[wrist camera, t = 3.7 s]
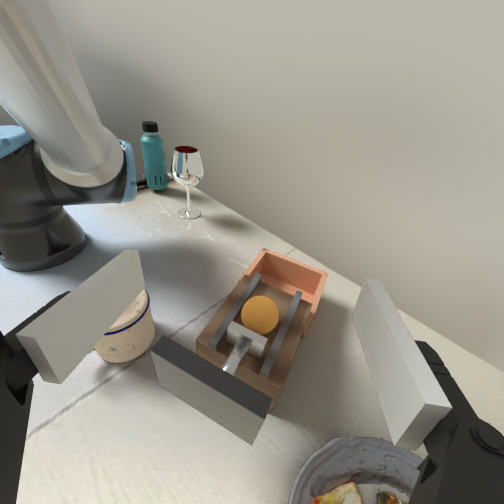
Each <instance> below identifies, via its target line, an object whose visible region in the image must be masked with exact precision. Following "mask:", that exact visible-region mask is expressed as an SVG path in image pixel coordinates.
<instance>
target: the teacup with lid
mask: <svg viewBox="0 0 504 504" xmlns="http://www.w3.org/2000/svg"><path fill="white" fill-rule="evenodd" d="M149 302H150V299H149V295H148V293H147V291H146V290H145V289H143V291H142V292H141V293H140V294H139V295H138V296H137V297H136V299H135V300H134V301H133V302H132V303H131V304H130V306H129V307H128V308H127V309H126V310H125V311H124V312H123V314H122V315H121V316H120V317H119V318H118V319H117V320H116V322H115V323H114V324H113V325H112V326H111V327H110V328H109V330H108V331H107V332H106V333H105V334H104V335H103V337H102V338H101V339H100V340H99V341H98V342H97V343H96V345H95V346H94V347H93V348H92V349H91V350H90V351H89V353H91V352H93V351H94V350H96V352H97V353H98V355H99V356H100V357H101V358H102V359H103V360H105V361H107V362H111V363H123V362H127V361H130V360H133V359H135V358H137V357H138V356H140V355H141V354H143V353H144V352H145V351H146V350H147V349H148V348H149V346H150V345H151V343H152V341H153V339H154V335H155V327H154V323H153V319H152V315H151V310H150V306H149ZM89 353H88V354H89Z"/></svg>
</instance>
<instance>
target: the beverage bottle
mask: <svg viewBox="0 0 504 504" xmlns="http://www.w3.org/2000/svg"><path fill="white" fill-rule="evenodd" d="M142 127H143V128H142V129H143V131H145V132H158V126H157V123H156V122H152V121H145V122H143V123H142ZM140 141H141V145H142V152H143V158H144V164H145V171H146V178H147V184H148V186H149V188H151V189H155V190H161V189H165V188H167V186H168V180H167V177H168V176H167V171H166V161H165V152H164V144H163V139H162V138H161V137H160V136H159V135H157V134H145V135H143V136H142V138H141V139H140Z"/></svg>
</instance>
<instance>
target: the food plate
mask: <svg viewBox="0 0 504 504" xmlns="http://www.w3.org/2000/svg"><path fill="white" fill-rule="evenodd" d="M422 461H423V460H422V459H421V458H419V457H418V456H417V455H415V454H414V453H412V452H411V451H410V450H409V449H405V448H401V447H396V446H394V445H393V443H392V442H389V441H386V440H384V439H383V438H380V439H377V438H372V437H342V438H341V437H339V438H338V437H337V438H334V439H332V440H331V441H329V442H328V443H327V444H325V446H323V447H322V448H320V449H318V451H315V453H314V454H313V455H312V457H310V458H309V459H308V460H307V462H306V463H305V465H304V466H303V467H302V468H301V470H300V471H299V474H298V476H297V477H296V480H295V482H294V483H293V484H294V485H293V486H292V490H291V492H290V496H289V500H288V504H362V501H361V498H360V495H359V494H358V491H357V489H356V484H360V483H361V484H370V483H371V484H388V485H389V486H391V487H394V488H397V489H398V490H399V491H400V492H401V493H406V494H407V496H408V498H411V495H412V492H413V490H414V487H415V484H416V482H417V479H418V476H419V474H420V471H419V470H418V469H416V468H417V467H418V466H419V465H420V464H421V462H422ZM376 499H377V502H376V503H377V504H408V503H407V502H402V501H400V500H397V499H396V497H395V495H394V493H391V492H387V491H386V492H385V491H382V492H381V491H380V489H377V493H376Z"/></svg>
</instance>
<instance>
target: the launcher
mask: <svg viewBox="0 0 504 504" xmlns="http://www.w3.org/2000/svg"><path fill="white" fill-rule="evenodd" d="M261 279H262V275H261V274H259V273H256V275H255V276H254V277H250V276H248V275H246V274H245V275H244V276H243V278H242V279H241V280H240V282H239V283H238V284H237V286H236V287H235V288H234V290H233V291H232V292H231V294H230V295H229V296H228V298H227V299H226V300H225V302H224V303H223V304H222V306H221V307H220V308H219V310H218V311H217V312H216V314H215V315H214V316H213V318H212V319H211V320H210V322H209V323H208V324H207V326H206V327H205V328H204V330H203V331H202V332H201V334H200V335H199V336H198V338H197V339H196V354H197V355H198V356H200V357H202V358H204V359H205V360H207V361H209V362H211V363H212V364H214V365H216V366H217V367H219V368H222V366H223V365H224V363H225V361H226V359H227V358H228V356H229V354H230V353H231V351H232V349H233V348H234V345H233V344H231V343H229V342H227V341H226V339H227V330H228V326H229V324H230V323H231V321H234V322H236V323H238V324H240V325H242V326H243V327H245V326H244V324H243V322H242V318H241V312H242V308H243V306H244V304H245V303H246V302H247V300H249V299H250V298H252V297H255V296H265V297H268V298H270V299H271V300H272V301H273V302H274V303H275V304H276V306H277V308H278V312H279V319H278V323H277V325H276V326H275V328H274V329H273V330H272V331H270V332H269V333H266V334H262V335H261V336H263V337H265V338H267V339H268V340H267V343H266V347H265V350H264V353H263V355H262V357H261V359H259V358H257V357H255V356H253V355H251V354H249V353H248V352H247V353H246V355H245V357H244V359H243V361H242V362H241V364H240V366H239V368H238V370H237V372H236V374H235V377H237V378H238V379H240V380H242V381H244V382H245V383H247V384H249V385H251V386H252V387H254V388H256V389H257V390H259V391H261V392H263V393H264V394H266V395H268V396H270V397H271V398H273V399H272V402H271V404H270V407H269V410H268V412H267V413H268V414H269V413H270V411H271V410H272V408H273V406H274V404H275V402H276V400H277V398H278V396H279V394H280V392H281V390H282V388H283V386H284V383H285V380H286V377H287V374H288V372H289V369H290V366H291V363H292V360H293V358H294V355H295V352H296V349H297V346H298V343H299V341H300V338H301V335H302V332H303V329H304V327H305V324H306V321H307V318H308V315H309V313H310V310H311V307H312V303H309V302H307V301H305V300H303V299H301V296H302V294H303V292H301V291H299V290H297V291H296V293H295V295H291V294H289V293H287V292H284V291H282V290H280V289H278V288H275V287H273V286H271V285H269V284H266V283H264V282H262V281H261ZM245 328H246V327H245Z"/></svg>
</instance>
